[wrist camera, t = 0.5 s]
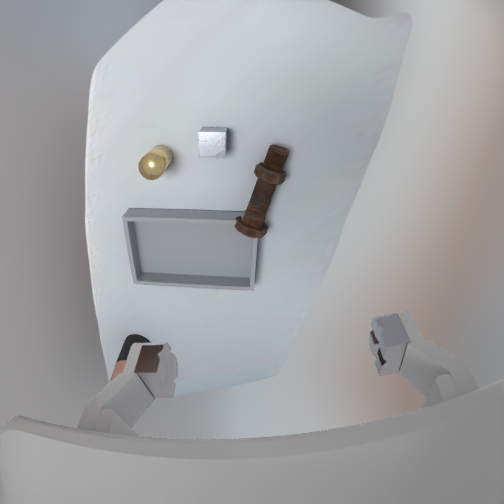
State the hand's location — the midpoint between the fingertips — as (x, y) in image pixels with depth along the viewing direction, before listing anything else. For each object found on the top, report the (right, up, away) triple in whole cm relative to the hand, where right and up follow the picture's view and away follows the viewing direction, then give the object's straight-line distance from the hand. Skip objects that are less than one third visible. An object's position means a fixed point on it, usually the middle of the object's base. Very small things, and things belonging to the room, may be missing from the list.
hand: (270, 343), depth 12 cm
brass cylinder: (-16, +19, +38) cm, 45 cm away
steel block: (-7, +22, +37) cm, 43 cm away
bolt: (+1, +15, +40) cm, 43 cm away
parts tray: (-12, +5, +47) cm, 49 cm away
